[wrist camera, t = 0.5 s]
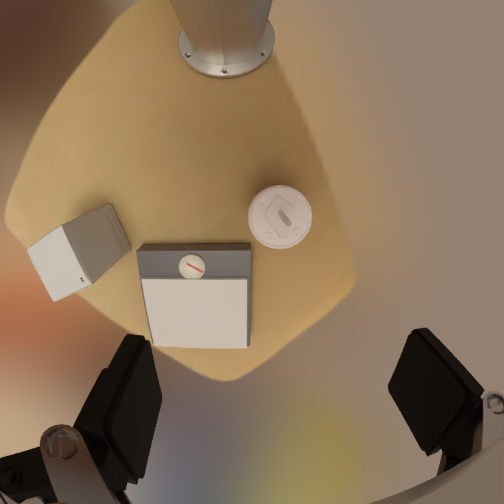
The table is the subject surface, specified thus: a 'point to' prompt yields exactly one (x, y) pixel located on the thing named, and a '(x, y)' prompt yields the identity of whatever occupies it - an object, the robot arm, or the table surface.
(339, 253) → the table surface
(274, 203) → the smoothie
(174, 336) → the scale
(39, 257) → the supplement box
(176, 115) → the table surface
